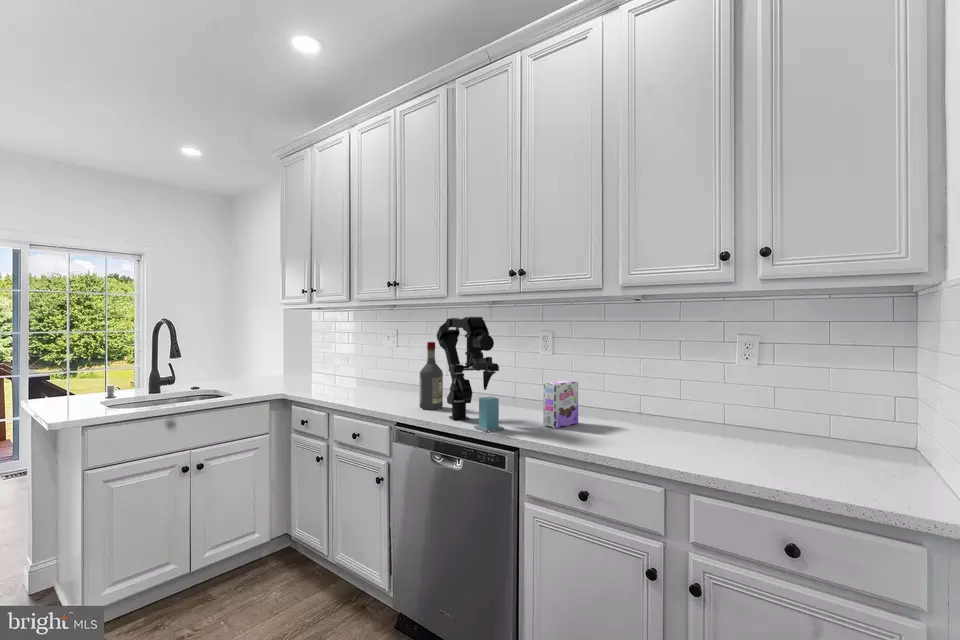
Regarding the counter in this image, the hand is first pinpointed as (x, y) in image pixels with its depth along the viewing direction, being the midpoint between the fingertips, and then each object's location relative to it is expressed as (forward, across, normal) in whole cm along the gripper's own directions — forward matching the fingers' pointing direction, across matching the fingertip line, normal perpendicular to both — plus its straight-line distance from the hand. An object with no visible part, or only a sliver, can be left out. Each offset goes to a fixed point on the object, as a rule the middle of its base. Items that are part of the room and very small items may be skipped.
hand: (474, 390), depth 179 cm
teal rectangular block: (+12, +2, -9) cm, 15 cm away
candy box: (+13, +30, -14) cm, 36 cm away
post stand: (+13, +2, -9) cm, 16 cm away
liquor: (+13, -4, +40) cm, 42 cm away
